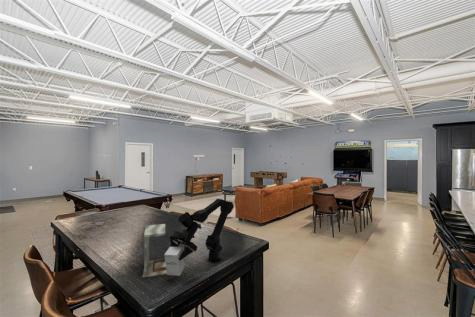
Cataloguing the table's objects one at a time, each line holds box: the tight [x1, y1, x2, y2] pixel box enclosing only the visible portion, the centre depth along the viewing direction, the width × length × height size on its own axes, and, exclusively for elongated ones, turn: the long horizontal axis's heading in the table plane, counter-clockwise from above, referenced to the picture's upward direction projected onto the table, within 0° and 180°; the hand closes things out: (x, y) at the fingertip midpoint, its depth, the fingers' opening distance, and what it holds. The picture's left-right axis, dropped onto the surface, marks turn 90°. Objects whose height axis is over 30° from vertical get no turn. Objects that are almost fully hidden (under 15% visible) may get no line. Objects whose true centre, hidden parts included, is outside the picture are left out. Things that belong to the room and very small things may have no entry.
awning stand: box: [142, 223, 167, 278], centre depth 136 cm, size 18×18×23 cm
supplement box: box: [163, 246, 186, 277], centre depth 122 cm, size 7×7×13 cm
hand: (174, 257), depth 122 cm, fingers closed on supplement box, 9 cm apart
